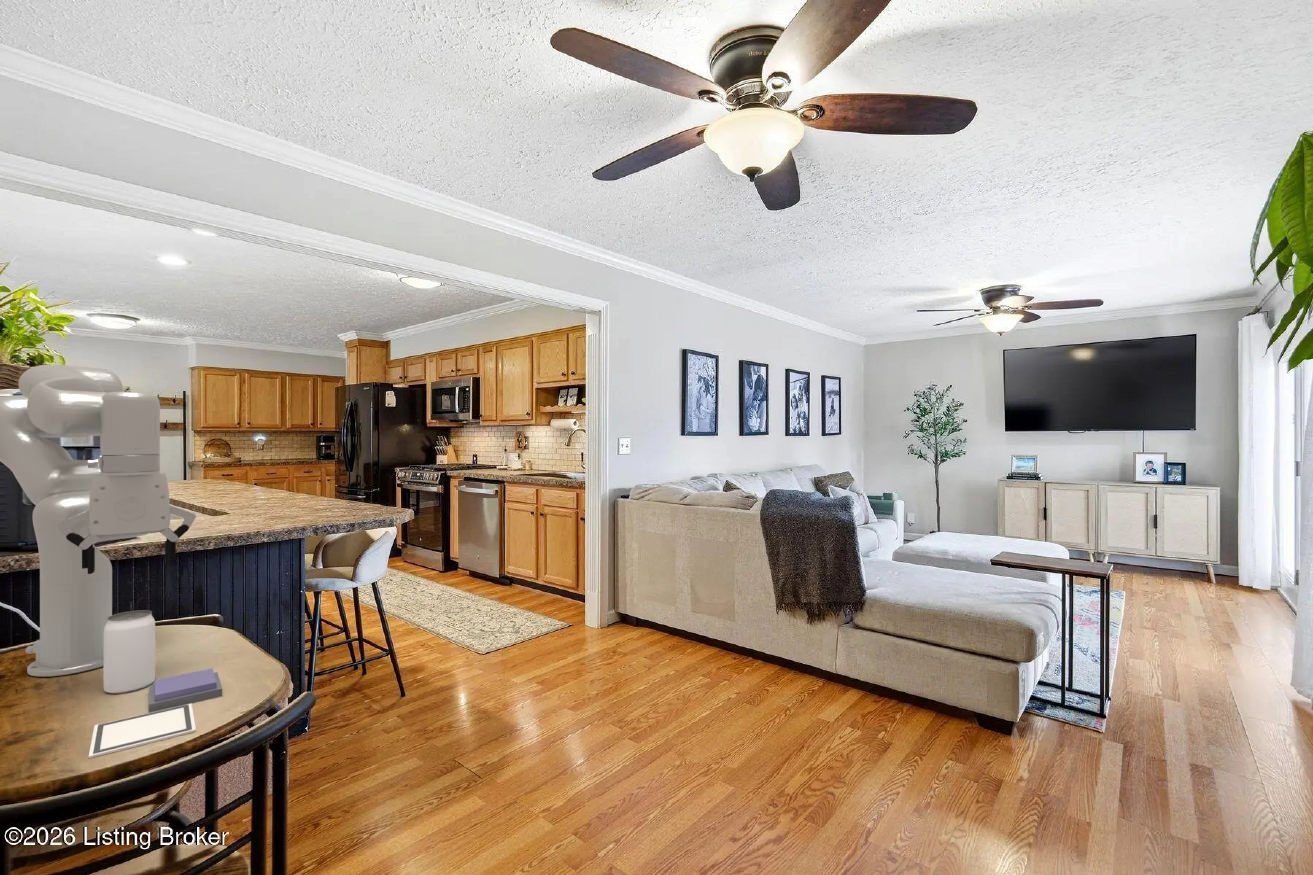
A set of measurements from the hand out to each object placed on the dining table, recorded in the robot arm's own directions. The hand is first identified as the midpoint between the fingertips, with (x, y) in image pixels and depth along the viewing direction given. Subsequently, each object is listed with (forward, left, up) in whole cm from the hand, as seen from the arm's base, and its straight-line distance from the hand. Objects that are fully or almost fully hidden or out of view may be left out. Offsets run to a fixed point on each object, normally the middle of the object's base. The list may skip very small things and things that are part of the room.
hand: (130, 568), depth 100 cm
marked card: (+16, -13, -20) cm, 29 cm away
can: (0, 0, -20) cm, 20 cm away
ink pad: (+12, -2, -20) cm, 23 cm away
